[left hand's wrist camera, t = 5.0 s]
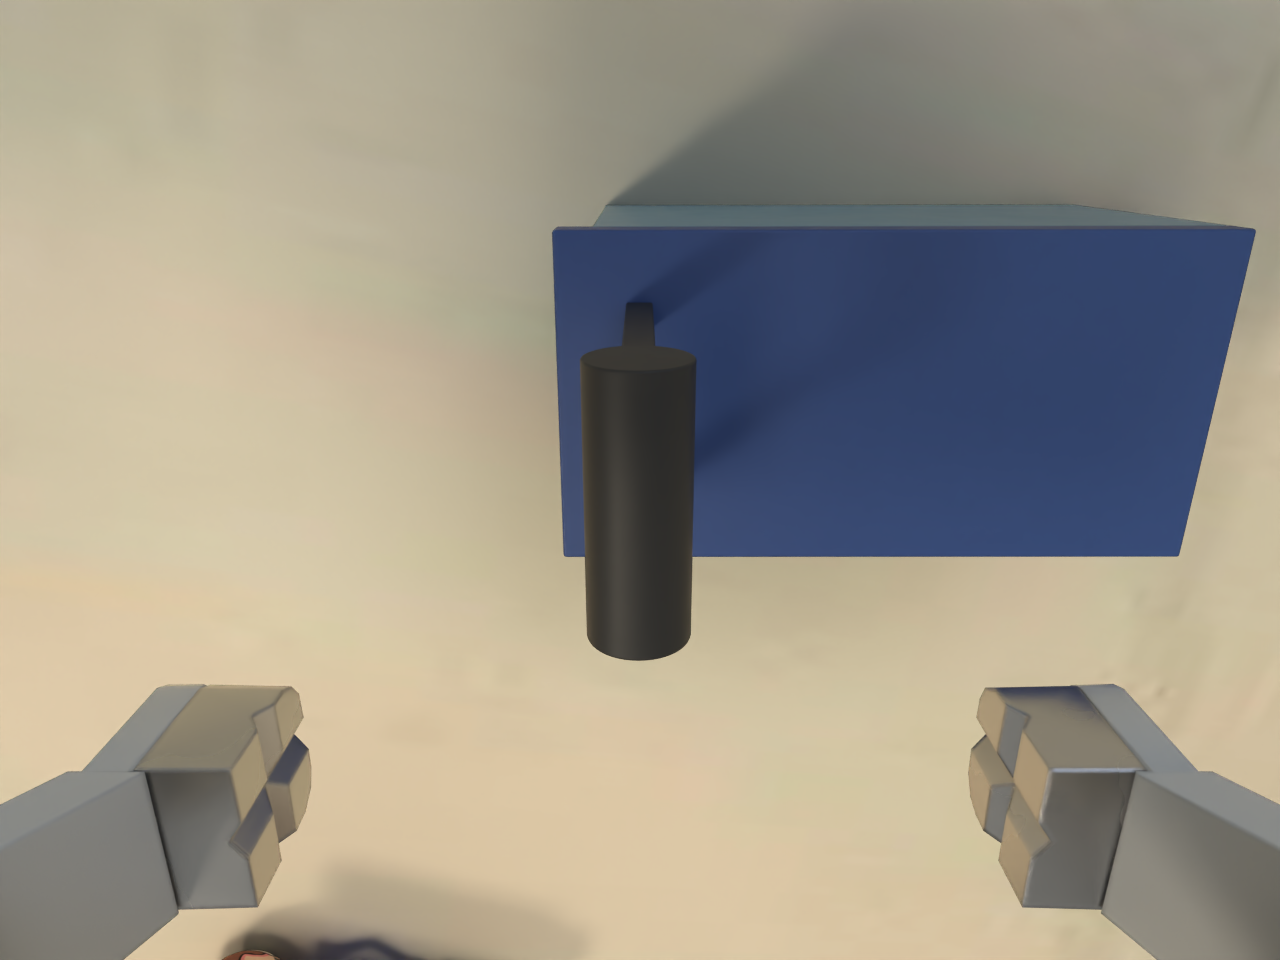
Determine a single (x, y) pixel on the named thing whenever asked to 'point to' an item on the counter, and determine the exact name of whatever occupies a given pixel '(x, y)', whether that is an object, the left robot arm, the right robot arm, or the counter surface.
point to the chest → (876, 216)
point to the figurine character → (251, 955)
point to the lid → (877, 397)
